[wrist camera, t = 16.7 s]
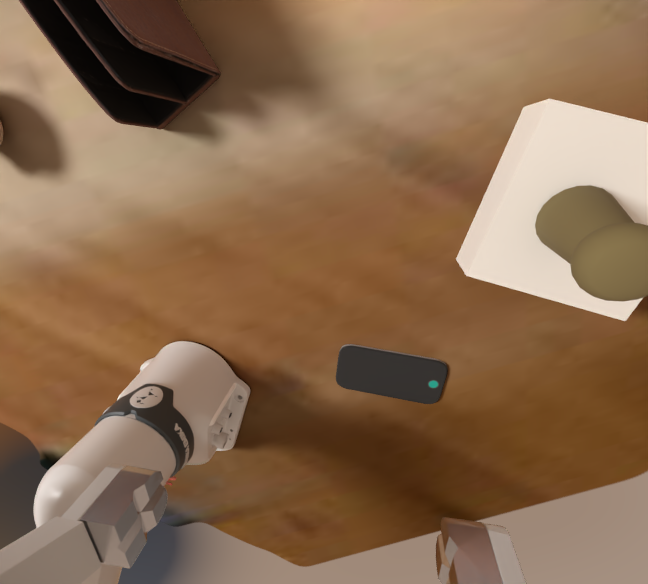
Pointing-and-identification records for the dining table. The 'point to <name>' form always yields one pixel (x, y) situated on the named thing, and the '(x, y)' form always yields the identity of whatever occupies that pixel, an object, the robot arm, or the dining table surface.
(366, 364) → the smartphone
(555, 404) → the dining table surface
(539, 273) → the white block
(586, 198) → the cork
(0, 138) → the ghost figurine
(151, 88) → the letter holder
